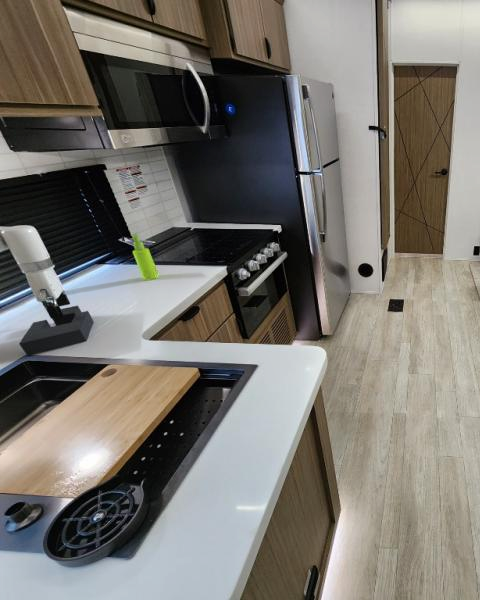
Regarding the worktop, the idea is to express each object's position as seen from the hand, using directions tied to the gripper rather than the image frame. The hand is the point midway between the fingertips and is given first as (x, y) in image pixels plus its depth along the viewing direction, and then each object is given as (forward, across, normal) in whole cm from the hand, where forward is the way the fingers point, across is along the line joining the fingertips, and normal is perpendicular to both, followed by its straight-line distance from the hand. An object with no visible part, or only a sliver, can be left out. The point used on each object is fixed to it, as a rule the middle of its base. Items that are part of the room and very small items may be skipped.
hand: (61, 311), depth 114 cm
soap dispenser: (+4, -31, +24) cm, 39 cm away
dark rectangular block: (+5, +11, +1) cm, 12 cm away
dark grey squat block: (+5, 0, +1) cm, 5 cm away
